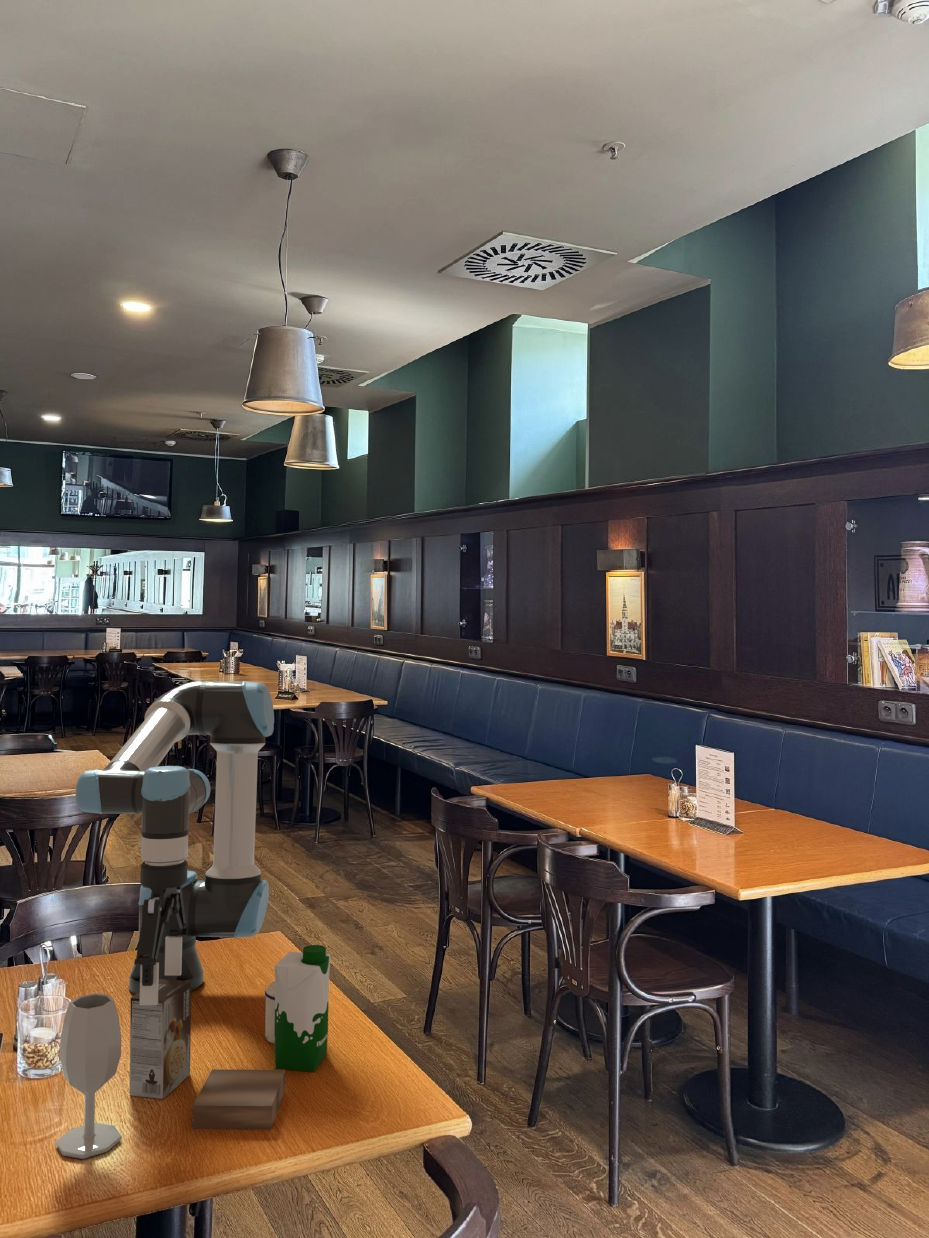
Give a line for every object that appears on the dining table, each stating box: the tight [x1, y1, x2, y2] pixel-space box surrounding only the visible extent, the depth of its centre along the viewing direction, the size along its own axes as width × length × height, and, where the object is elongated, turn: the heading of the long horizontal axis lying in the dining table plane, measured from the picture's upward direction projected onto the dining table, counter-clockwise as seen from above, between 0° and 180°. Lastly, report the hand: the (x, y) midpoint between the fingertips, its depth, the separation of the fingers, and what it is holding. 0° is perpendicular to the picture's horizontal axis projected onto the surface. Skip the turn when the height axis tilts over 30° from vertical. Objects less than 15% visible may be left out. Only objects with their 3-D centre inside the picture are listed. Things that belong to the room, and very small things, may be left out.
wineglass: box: [55, 992, 123, 1160], centre depth 141 cm, size 9×9×21 cm
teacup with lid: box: [264, 981, 275, 1045], centre depth 181 cm, size 12×9×12 cm
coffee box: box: [129, 979, 192, 1100], centre depth 160 cm, size 9×6×16 cm
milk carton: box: [274, 944, 332, 1073], centre depth 169 cm, size 9×9×20 cm
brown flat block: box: [191, 1068, 286, 1131], centre depth 152 cm, size 12×12×4 cm
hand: (161, 989), depth 159 cm, fingers open, 13 cm apart
